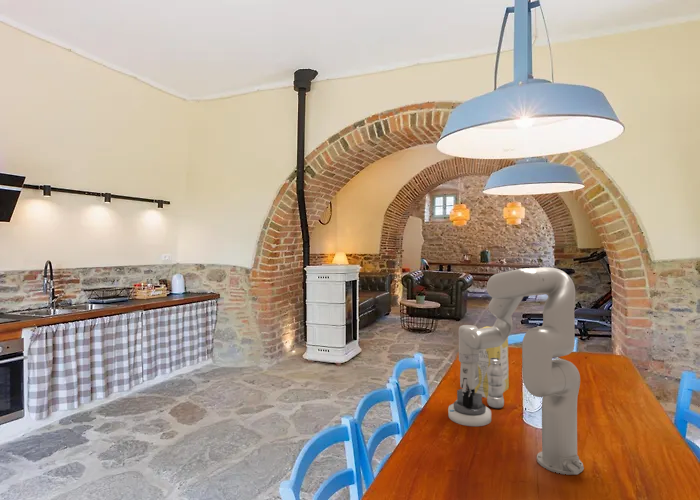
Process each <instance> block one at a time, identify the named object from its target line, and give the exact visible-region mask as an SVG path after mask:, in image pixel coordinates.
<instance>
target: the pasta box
mask: <svg viewBox="0 0 700 500" xmlns="http://www.w3.org/2000/svg"><path fill="white" fill-rule="evenodd" d="M488 327H490V326H484V327H480V328H479V329H481V328H488ZM490 358H499V359H500V364H499V365H500V367H501V368H502V370H503V381H502V392H503V394H504V393H505V392H506V391H507V390H509V389H510V388H509V385H510V384H509V377H510V375H509V337H508V338H507V339H506V341H505V342H504V343H503V344H502V345H501V346H499V347H494V348H487V349H482V350H479V362H478V372H479V384H478V385H477V386H476V387H475V393H479V394H482V398H486V399H487V396H488V377H487V368H488V367H489V366H490V364H491V363H490Z"/></svg>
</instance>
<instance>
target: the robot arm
mask: <svg viewBox="0 0 700 500" xmlns="http://www.w3.org/2000/svg"><path fill="white" fill-rule="evenodd" d="M486 291H487V294H488V295H489V296H490V297H491V300H490V301H489V303H488V305H487V306H488V307H487V308H488V311H489V312H490V314H492V315H493V316H494V317H495V318H497V319H496V320H495V322H494V323H493V325H492V326H489V327H488V328H483V327H480V328H481V329H480V328H478V326H477V325H473V324H463V325H460V326H459V327H458V361H459V362H460V370H459V371H460V373H459V379H460V380H459V383H460V384H459V385H460V389H462V392H463V406H466V407H472V397H471V391H472V392H475V387H476V386H477V385H478V384H479V372H478V362H479V350H482V349H487V348H494V347H499V346H501V345H502V344H503V343H504V342H505V341H506V339H507V338H508V339H509V336H510V335H511V333H512V331H513V324H514V323H513V318H512V316H513V314H514V313H515V312H516V310H517V308H518V306H519V305H520V304H521V302H522V300H523V299H524V297H530V296H531V297H532V296H542V295H546V296H547V299H546V301H545V303H544V305H543V309H542V310H543V311H542V315H543V316H542V319H543V320H542V325H540V326H539V325H538V326H535V327H532V328H530V329H529V330H527V331H526V332H525V334H524V336H523V339H522V345H521V351H522V352H521V353H522V354H521V358H522V360H521V361H522V362H521V363H522V364H521V365H522V366H521V367H522V369H521V370H522V374H521V375H522V381H523V385H524V387H525V389H526V391H527V392H528V393H529V394H531V395H532V396H534V397H538V398H542V400H541V451H539V452H538V453H537V454H536V461H537V464H538V465H540V466H541V467H542V468H544V469H545V468H546V469H545V470H547V471H550V472H552V473H555V472H556V474H559V473H560V474H559V475H565V474H566V475H567V476H569V475H570V476H573V475H575V476H576V475H579V474H580V473H582V472H583V471H584V469H585V467H584V463H583V462H582V460H581V459H580V456H579V455H578V397H579V396H578V395H579V390H580V385H581V375H580V372H579V369H578V368H577V366H576V365H575V364H574V363H573V362H571V361H569V360H566V359H561V358H560V357H564V356H565V357H566V356H568V355H570V354H571V353H572V352H573V351H574V349H575V343H576V342H575V338H576V337H575V334H576V333H575V328H576V327H575V326H576V325H575V324H576V323H575V320H576V319H575V307H576V306H575V303H576V286H575V284H574V281H573V279H572V278H571V277H570V275H569V274H567V273H566V272H565V271H564V270H561V269H559V268H556V267H548V266H546V267H545V266H544V267H543V266H542V267H529V268H528V267H527V268H526V267H525V268H518V269H513V270H509V271H504V272H499V273H495V274H493V275H492V276H490V277H489V279H488V281H487V283H486ZM557 358H558V359H557ZM467 390H468V391H469V392H468V391H467Z"/></svg>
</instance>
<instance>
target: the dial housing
mask: <svg viewBox="0 0 700 500" xmlns="http://www.w3.org/2000/svg"><path fill="white" fill-rule="evenodd" d="M447 408H448V409H447V411H448V416H447V417H448V419H450V420H451V421H452V422H454V423H455V424H457V425H462V426H467V427H484V426H486V425H489V424H490V423H491V422H492V410H491V409H490V408H489V407H487V406H486V412H485V413H484V414H481V415H465V414H461V413H459V412H457V411H455V410H454V403H452V404H449V405H448V407H447Z"/></svg>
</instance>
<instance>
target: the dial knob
mask: <svg viewBox="0 0 700 500" xmlns="http://www.w3.org/2000/svg"><path fill="white" fill-rule="evenodd" d="M462 389H463V388H460V389H457V390H456V392H457V393H456V400H455V401H454V402H453V404H454V410H455V411H457V412H459V413H461V414H465V415H481V414H484V413H485V412H486V407H487V406H486V405H485V404H484V403H483V397H482V394H479V393H475V392H472V391H471V397H472V407H466V406H463V392H462ZM467 391H468V390H467ZM468 392H469V391H468Z"/></svg>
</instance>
